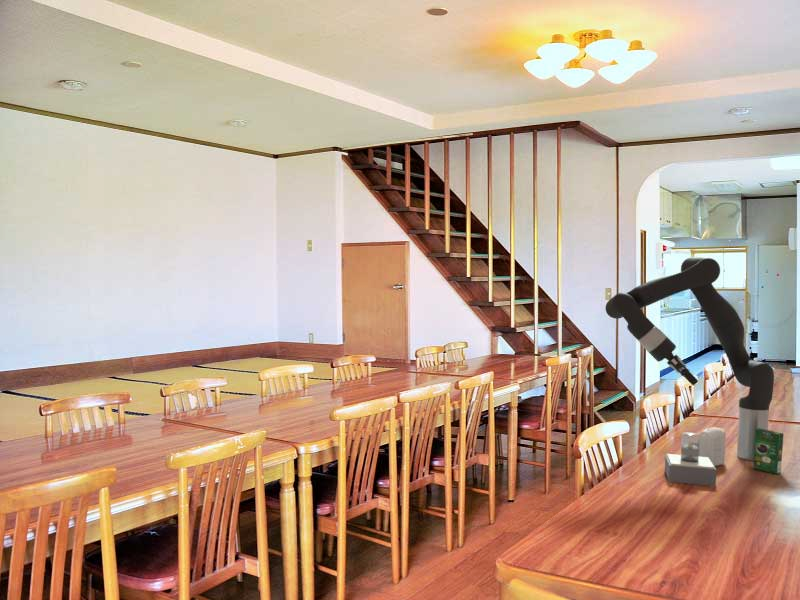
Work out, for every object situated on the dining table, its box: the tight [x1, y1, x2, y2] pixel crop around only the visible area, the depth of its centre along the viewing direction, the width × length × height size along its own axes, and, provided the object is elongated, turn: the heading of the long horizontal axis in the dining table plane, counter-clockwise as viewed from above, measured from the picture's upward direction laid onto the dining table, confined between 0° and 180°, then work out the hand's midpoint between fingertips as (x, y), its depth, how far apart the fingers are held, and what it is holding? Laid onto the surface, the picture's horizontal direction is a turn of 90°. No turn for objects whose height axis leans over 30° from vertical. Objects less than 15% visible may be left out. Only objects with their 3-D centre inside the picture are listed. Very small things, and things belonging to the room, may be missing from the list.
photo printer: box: [699, 426, 727, 467], centre depth 230 cm, size 10×4×12 cm, turn 123°
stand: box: [664, 453, 717, 487], centre depth 214 cm, size 13×13×6 cm
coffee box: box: [752, 428, 784, 475], centre depth 223 cm, size 8×3×13 cm, turn 33°
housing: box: [680, 431, 700, 462], centre depth 214 cm, size 5×5×8 cm
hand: (694, 381), depth 220 cm, fingers open, 8 cm apart
